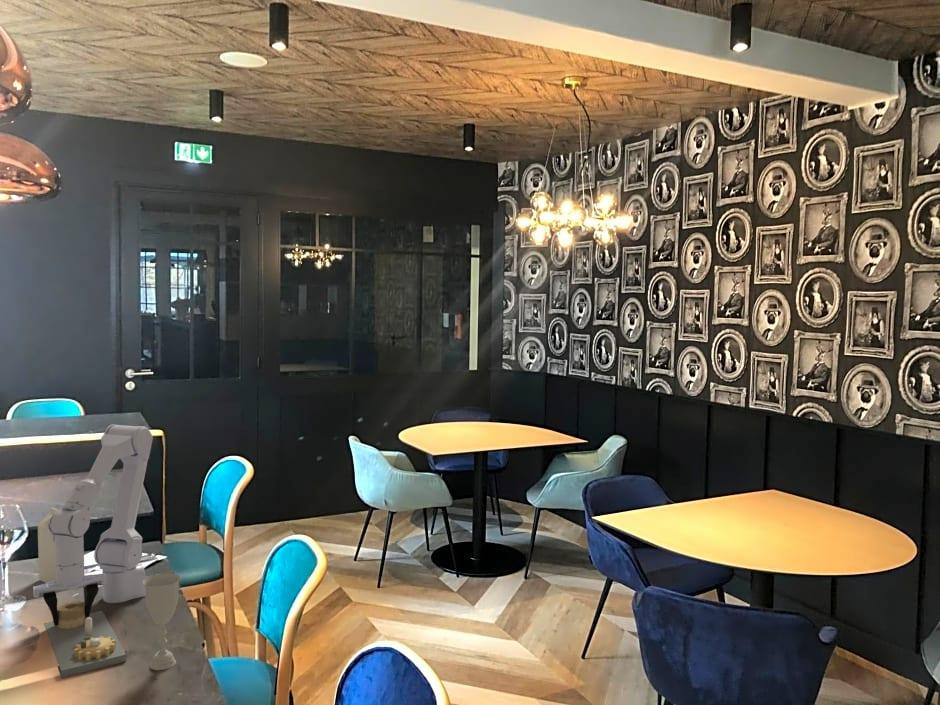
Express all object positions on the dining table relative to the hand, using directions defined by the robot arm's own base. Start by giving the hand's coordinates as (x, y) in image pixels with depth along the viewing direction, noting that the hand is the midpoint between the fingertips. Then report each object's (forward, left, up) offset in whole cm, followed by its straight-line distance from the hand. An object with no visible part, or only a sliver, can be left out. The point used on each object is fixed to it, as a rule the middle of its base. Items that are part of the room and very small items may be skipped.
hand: (71, 620), depth 169 cm
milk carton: (-2, -35, -2) cm, 35 cm away
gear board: (-1, +9, -2) cm, 10 cm away
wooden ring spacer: (0, 0, -1) cm, 1 cm away
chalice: (-13, +28, -2) cm, 31 cm away
